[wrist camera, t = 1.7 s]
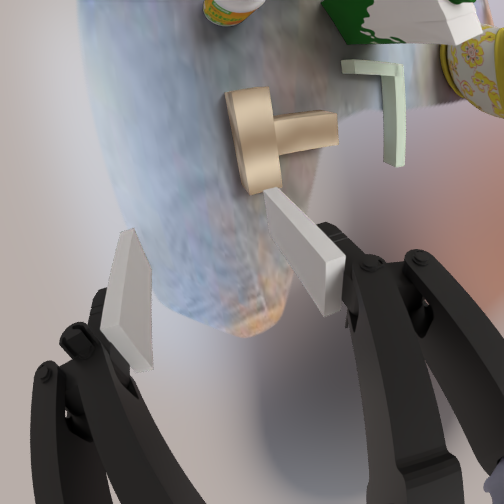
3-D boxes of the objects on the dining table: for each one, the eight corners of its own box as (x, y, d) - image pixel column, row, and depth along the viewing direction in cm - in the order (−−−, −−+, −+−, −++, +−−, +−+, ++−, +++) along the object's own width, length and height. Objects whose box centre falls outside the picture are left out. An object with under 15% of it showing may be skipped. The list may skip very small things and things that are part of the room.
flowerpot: (483, 88, 34) (542, 108, 21) (448, 119, 37) (518, 147, 24) (458, 14, 24) (525, 22, 10) (417, 32, 26) (500, 38, 13)
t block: (224, 92, 28) (231, 92, 24) (317, 81, 29) (333, 81, 26) (241, 184, 34) (249, 195, 31) (324, 165, 36) (339, 174, 33)
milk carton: (355, -15, 21) (469, -38, 5) (385, 35, 26) (503, 40, 10) (311, -1, 22) (430, -40, 6) (345, 53, 27) (474, 57, 11)
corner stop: (340, 60, 28) (353, 59, 26) (389, 63, 29) (402, 64, 27) (348, 167, 37) (360, 174, 35) (392, 160, 38) (404, 165, 36)
